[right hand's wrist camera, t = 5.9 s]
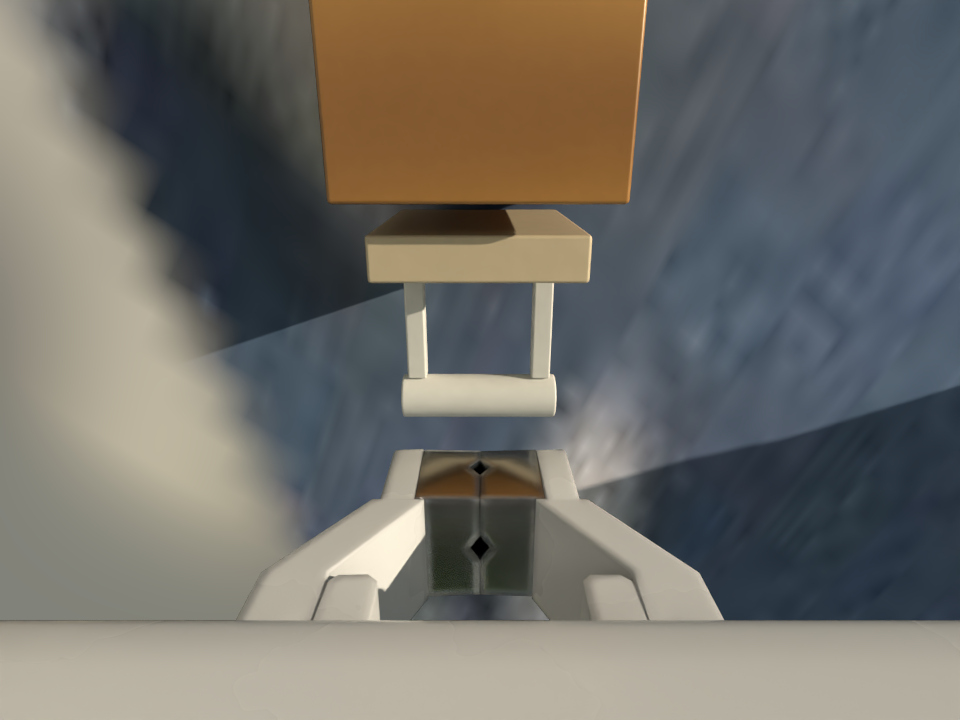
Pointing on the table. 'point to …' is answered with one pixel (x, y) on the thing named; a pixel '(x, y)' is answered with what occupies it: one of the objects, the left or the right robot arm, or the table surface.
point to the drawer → (478, 259)
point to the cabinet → (478, 100)
